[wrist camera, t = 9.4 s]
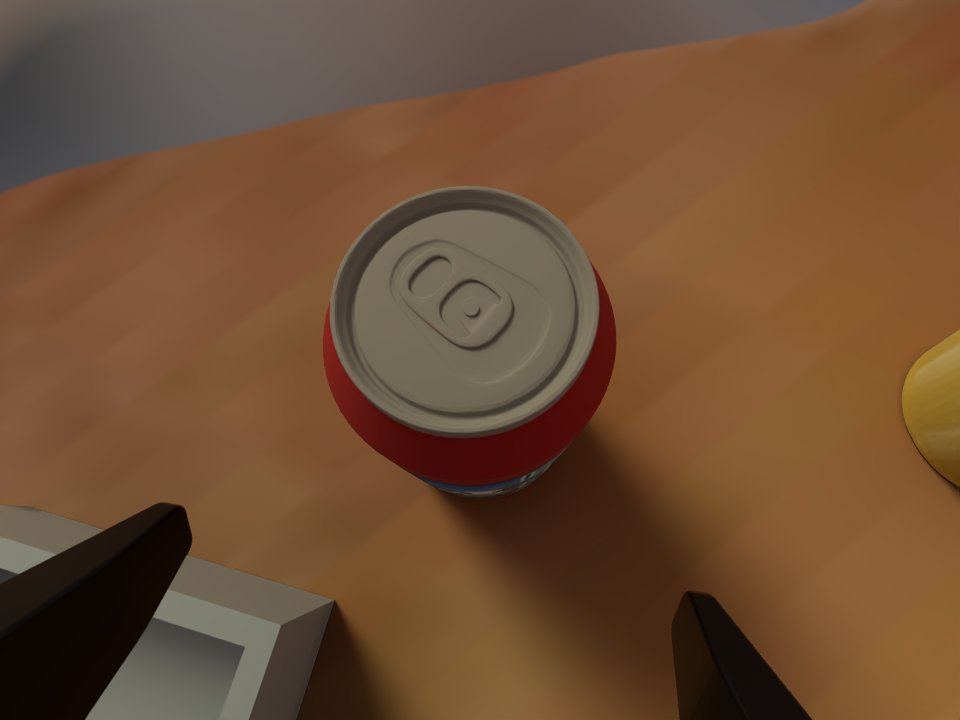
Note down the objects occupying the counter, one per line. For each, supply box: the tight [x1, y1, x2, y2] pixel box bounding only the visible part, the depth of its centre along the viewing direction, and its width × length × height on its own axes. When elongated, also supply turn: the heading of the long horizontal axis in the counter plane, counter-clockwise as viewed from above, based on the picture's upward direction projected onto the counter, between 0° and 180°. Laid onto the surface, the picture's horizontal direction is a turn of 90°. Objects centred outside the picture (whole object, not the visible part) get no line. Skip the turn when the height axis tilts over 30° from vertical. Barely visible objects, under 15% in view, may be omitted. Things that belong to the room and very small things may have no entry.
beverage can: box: [323, 186, 616, 500], centre depth 16 cm, size 7×7×12 cm
